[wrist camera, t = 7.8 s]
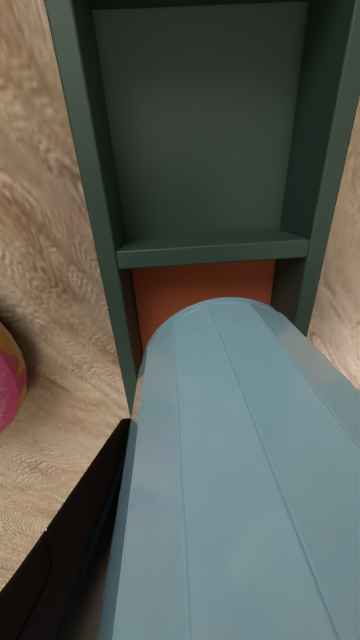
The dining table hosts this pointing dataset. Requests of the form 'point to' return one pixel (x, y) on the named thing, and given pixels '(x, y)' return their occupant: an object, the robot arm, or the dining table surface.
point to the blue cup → (237, 486)
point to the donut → (10, 378)
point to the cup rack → (207, 149)
